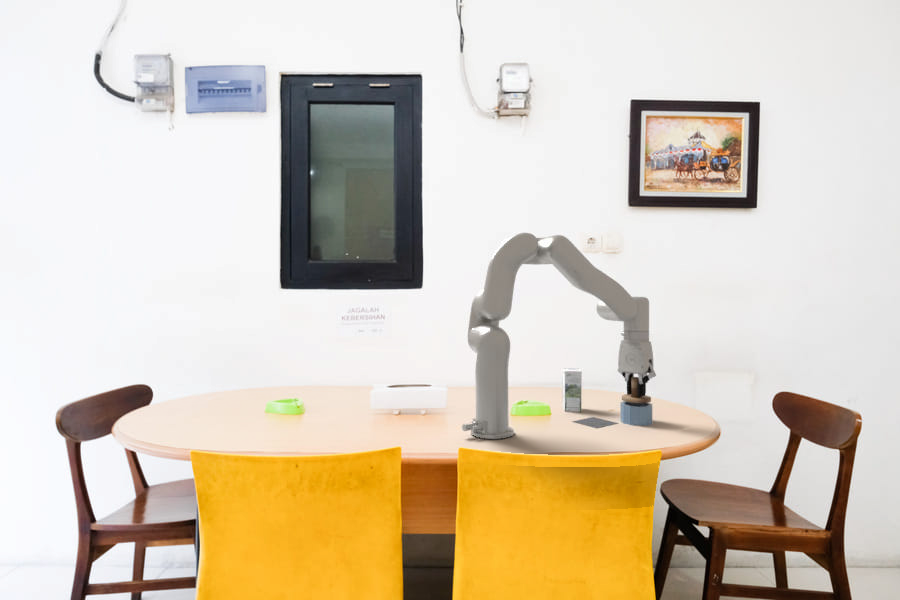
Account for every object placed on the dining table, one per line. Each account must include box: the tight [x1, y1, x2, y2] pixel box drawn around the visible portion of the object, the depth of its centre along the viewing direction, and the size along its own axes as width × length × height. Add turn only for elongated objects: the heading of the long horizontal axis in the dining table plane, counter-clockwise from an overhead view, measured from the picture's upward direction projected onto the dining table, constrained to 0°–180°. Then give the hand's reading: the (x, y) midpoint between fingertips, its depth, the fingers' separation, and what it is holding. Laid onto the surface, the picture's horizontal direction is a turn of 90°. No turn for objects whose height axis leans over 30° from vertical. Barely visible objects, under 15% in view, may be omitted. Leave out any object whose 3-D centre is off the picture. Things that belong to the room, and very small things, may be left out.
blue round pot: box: [620, 400, 653, 427], centre depth 165 cm, size 9×9×6 cm
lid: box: [621, 376, 652, 403], centre depth 165 cm, size 9×9×7 cm
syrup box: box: [562, 367, 583, 413], centre depth 182 cm, size 6×6×14 cm
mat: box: [571, 416, 619, 429], centre depth 165 cm, size 10×10×1 cm
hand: (636, 394), depth 165 cm, fingers closed on lid, 3 cm apart
